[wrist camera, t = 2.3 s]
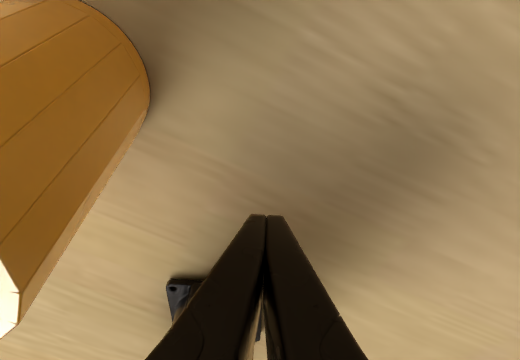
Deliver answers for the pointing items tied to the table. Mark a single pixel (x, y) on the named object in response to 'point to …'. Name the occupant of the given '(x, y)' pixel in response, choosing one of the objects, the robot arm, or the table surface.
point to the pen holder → (57, 133)
